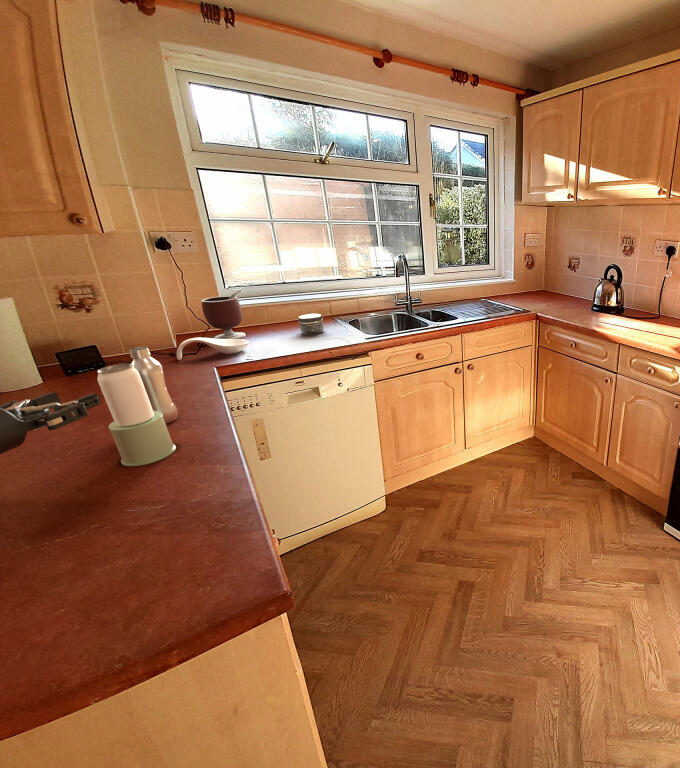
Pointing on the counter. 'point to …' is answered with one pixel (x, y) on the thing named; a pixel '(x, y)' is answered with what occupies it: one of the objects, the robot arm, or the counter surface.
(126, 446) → the cup
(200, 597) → the counter surface
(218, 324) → the mate gourd
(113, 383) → the can
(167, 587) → the counter surface
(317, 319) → the jar
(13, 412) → the robot arm
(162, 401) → the plastic bottle
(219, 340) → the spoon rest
